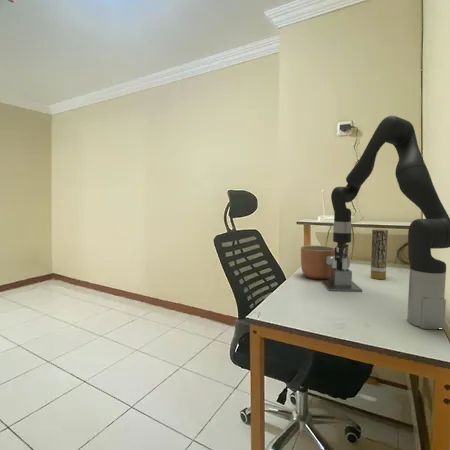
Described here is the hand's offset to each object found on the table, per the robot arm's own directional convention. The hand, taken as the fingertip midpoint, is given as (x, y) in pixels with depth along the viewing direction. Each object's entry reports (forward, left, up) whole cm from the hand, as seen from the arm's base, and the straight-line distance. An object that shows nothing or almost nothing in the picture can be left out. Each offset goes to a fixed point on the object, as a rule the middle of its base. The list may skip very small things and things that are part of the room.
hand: (341, 268), depth 129 cm
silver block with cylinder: (+1, +1, -6) cm, 6 cm away
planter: (+16, +7, -9) cm, 20 cm away
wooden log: (+17, -23, -9) cm, 30 cm away
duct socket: (0, 0, -8) cm, 8 cm away
